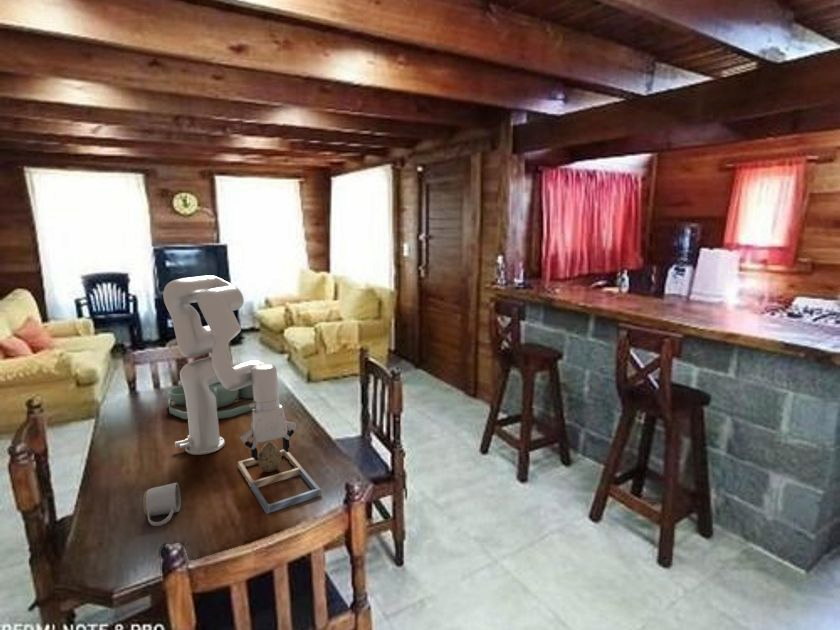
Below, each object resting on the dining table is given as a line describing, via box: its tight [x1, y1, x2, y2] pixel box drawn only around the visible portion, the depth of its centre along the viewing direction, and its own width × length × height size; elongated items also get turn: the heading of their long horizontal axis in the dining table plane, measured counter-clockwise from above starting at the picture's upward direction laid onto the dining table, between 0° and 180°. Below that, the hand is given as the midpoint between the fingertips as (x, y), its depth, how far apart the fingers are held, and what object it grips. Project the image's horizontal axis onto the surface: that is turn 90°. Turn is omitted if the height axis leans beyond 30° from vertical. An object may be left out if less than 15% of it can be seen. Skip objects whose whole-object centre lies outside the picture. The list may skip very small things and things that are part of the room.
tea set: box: [167, 380, 254, 420], centre depth 208 cm, size 40×40×16 cm
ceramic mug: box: [142, 482, 182, 527], centre depth 130 cm, size 11×8×8 cm
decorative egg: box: [258, 441, 282, 473], centre depth 153 cm, size 7×7×10 cm
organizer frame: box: [237, 448, 322, 515], centre depth 148 cm, size 16×30×2 cm, turn 34°
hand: (271, 454), depth 152 cm, fingers open, 9 cm apart
